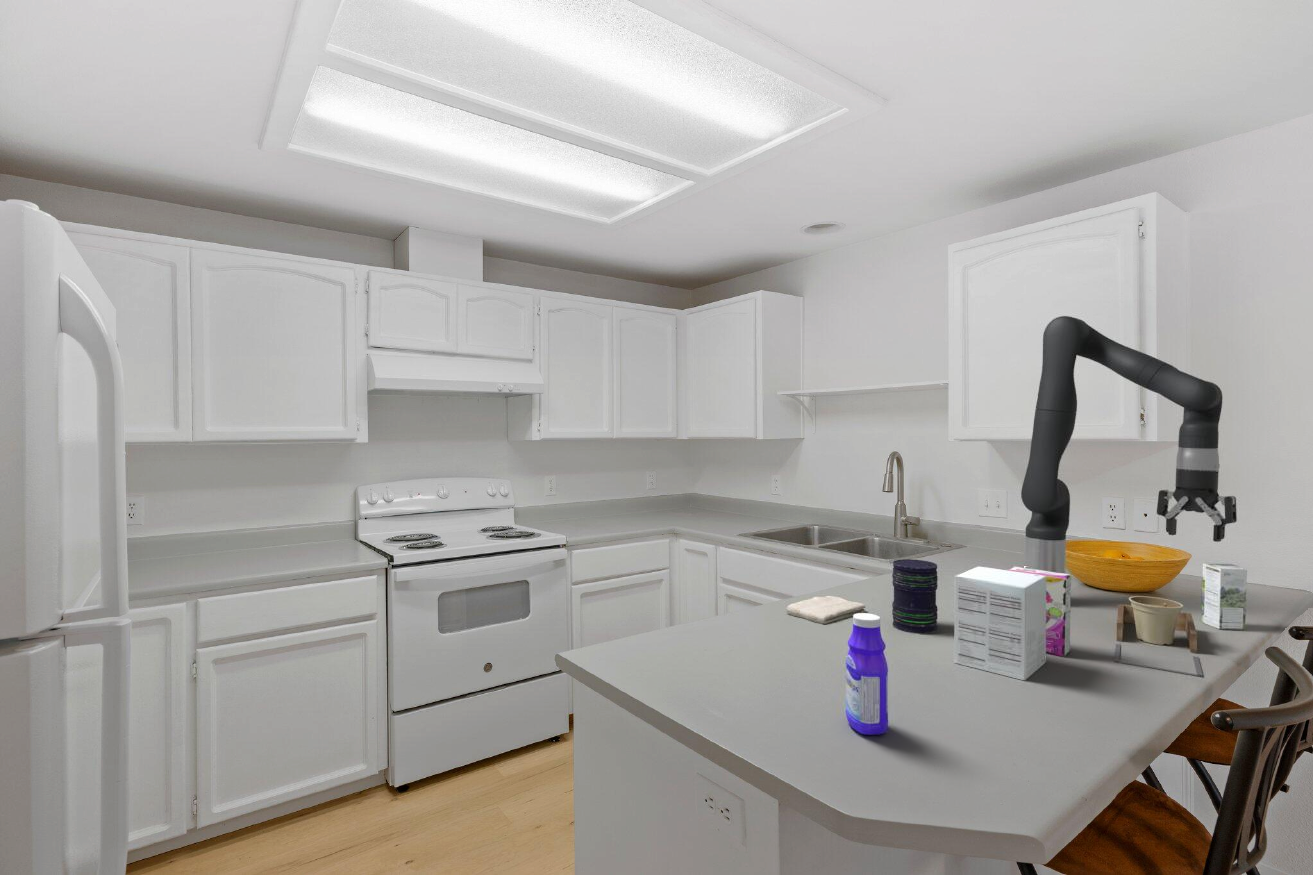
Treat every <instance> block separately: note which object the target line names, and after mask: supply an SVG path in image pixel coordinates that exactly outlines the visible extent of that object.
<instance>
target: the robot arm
mask: <svg viewBox="0 0 1313 875" xmlns="http://www.w3.org/2000/svg"><path fill="white" fill-rule="evenodd" d="M1042 334H1043V335H1042V364H1041V365H1042V366H1041V376H1040V381H1039V384H1038V385H1039V386H1038V392H1037V400H1036V403H1035V404H1036V405H1035V411H1034V418H1033V426H1032V434H1031V442H1030V449H1029V459H1028V463H1027V468H1026V471H1025V475H1024V479H1023V482H1022V487H1021V491H1020V495H1021V496H1020V498H1021V500H1022V501H1021V502H1022V504H1023V505H1024V506H1025V508H1026V509H1027V510H1028V511H1030V512H1031V517H1030V520H1029V522H1028V523H1027V525H1026V527H1025V548H1024V549H1025V552H1024V554H1025V555H1024V556H1025V563H1024V566H1023V568H1028V569H1035V570H1042V571H1049V572H1056V573H1063V574H1067V573H1066V568H1067V566H1066V565H1067V564H1066V563H1067V561H1066V558H1067V557H1066V556H1067V555H1066V554H1067V553H1066V552H1067V548H1066V547H1067V546H1066V545H1067V543H1066V542H1067V538H1066V537H1067V531H1068V529H1069V525H1070V512H1071V495H1070V490H1069V488H1068V486H1067V484H1066V483H1065V482H1064V481H1063V480H1061V479H1059V478H1058V476H1059V469H1060V462H1061V460H1062V457H1063V454H1064V453H1065V451H1066V449H1067V447H1068V444H1069V443H1070V441H1071V438H1072V436H1073V433H1074V430H1075V424H1076V419H1077V411H1078V398H1077V395H1078V394H1077V388H1076V382H1075V364H1076V360H1077V356H1078V357H1081V358H1084V359H1087V360H1090V361H1093V362H1096V363H1098V364H1100V365H1102V366H1104V367H1106V368H1108V369H1109V370H1111V371H1112V372H1114V373H1115V374H1117V375H1119V376H1121V377H1122V378H1124V379H1126V380H1128V381H1130V382H1132V383H1134V384H1136V385H1137V386H1140V387H1142V388H1145V389H1147V390H1148V391H1151V392H1153V393H1156V394H1159V395H1160V396H1163V397H1164V398H1166V399H1167V400H1168V401H1170V402H1173V403H1175V404H1176V405H1178V406H1179V407H1181V408H1183V416H1182V417H1183V420H1182V423H1181V425H1180V427H1179V430H1178V431H1179V432H1178V443H1177V444H1178V446H1177V453H1176V454H1177V455H1176V460H1175V461H1176V463H1175V484H1174V485H1175V486H1174V487H1175V489H1174V491H1172V490H1171V491H1170V490H1168V489H1161V490H1159V491H1158V494H1157V495H1158V497H1157V505H1156V506H1157V507H1156V514H1157V515H1158V516H1162V517H1164V518H1165V531H1166V533H1168V535H1170V536H1175V535H1177V524H1178V522H1177V521H1178V519H1177V517H1178V516H1179V515H1180V514H1181V513H1183V512H1184V511H1185V512H1195V513H1201V514H1202V513H1203V514H1204V513H1205V514H1206V515H1207V517H1209V518H1210V519H1211V520H1212V521H1213V522H1214V524H1213V536H1212V538H1213V539H1212V541H1213V542H1221V541H1222V540H1224V539H1225V538H1226V537H1225V536H1226V526H1227V525H1228V524H1234V523H1237V521H1238V520H1237V519H1238V518H1237V515H1238V514H1237V498H1236V496H1234V495H1228V496H1226V495H1225V496H1224V495H1222V496H1221V495H1219V490H1218V489H1219V472H1220V455H1219V438H1220V437H1219V424H1220V419H1221V415H1222V409H1223V408H1222V407H1223V391H1222V390H1221V388H1220V387H1219V385H1217V384H1216V383H1214V382H1212V381H1208V380H1204V379H1201V378H1199V377H1196V376H1194V375H1191V374H1189V373H1187V372H1184V371H1181V370H1179V369H1178V368H1177V367H1175V366H1174V365H1172V364H1169V363H1167V362H1166V361H1163V360H1161V359H1159V358H1156V357H1155V356H1152V355H1150V354H1147V353H1145V352H1142V351H1139V350H1137V349H1133V348H1131V347H1129V346H1126V345H1123V344H1122V343H1119V342H1117V341H1115V340H1113V339H1111V338H1109V337H1107V336H1106V335H1104V334H1102V333H1100V332H1099V330H1096V329H1095V328H1093V327H1092V326H1090V325H1089V324H1088V323H1086V322H1085V321H1084V320H1082V319H1079V318H1078V317H1077V318H1076V317H1074V316H1073V317H1072V316H1070V315H1069V316H1068V315H1062V316H1058V317H1055V318H1053V319H1052V320H1051V321H1049V323H1047V325H1046V327H1045V328H1044V331H1043V333H1042ZM1172 498H1174V500H1175V501H1176V503H1175V504H1174V505H1173V507H1171V508H1170V510H1169V511H1168V509H1169V502H1170V500H1171V499H1172ZM1219 502H1220V503H1221V506H1223V507H1224V516H1223V514H1221V511H1220V510H1219V509H1218V508H1217V506H1216V505H1217V504H1218V503H1219Z"/></svg>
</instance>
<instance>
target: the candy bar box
mask: <svg viewBox="0 0 1313 875" xmlns="http://www.w3.org/2000/svg"><path fill="white" fill-rule="evenodd" d="M1006 570H1007V571H1015V572H1022V573H1029V574H1036V575H1042V576H1046V654H1048V655H1054V656H1058V657H1059V656H1060V657H1064V658H1065V657H1066V655H1067V654H1068V653H1069V652H1071V651H1070V650H1071V649H1070V648H1071V606H1072V605H1071V603H1072V602H1071V598H1072V594H1071V592H1072V575H1071V574H1068V573H1066V574H1063V573H1056V572H1049V571H1042V570H1035V569H1028V568H1024V567H1021V566H1020V567H1019V566H1012V567H1010V568H1008V569H1006Z"/></svg>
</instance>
